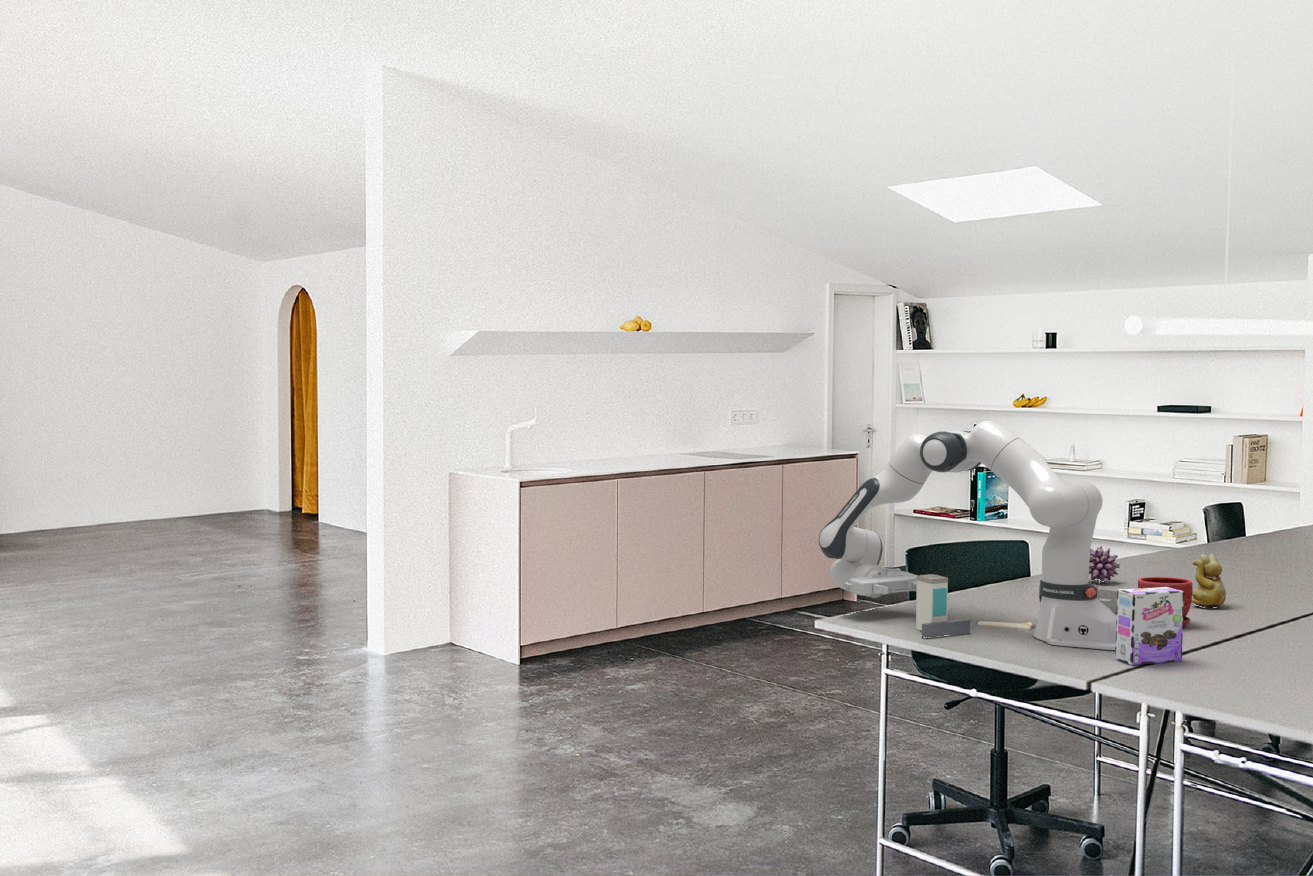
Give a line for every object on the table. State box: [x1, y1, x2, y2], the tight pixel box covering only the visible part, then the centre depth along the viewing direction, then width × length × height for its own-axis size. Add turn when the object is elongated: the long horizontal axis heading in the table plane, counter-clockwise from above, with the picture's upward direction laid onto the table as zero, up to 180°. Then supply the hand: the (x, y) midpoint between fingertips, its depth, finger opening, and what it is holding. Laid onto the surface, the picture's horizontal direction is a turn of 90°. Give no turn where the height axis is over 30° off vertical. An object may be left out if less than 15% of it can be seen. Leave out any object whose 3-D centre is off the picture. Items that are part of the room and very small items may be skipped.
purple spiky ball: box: [1089, 545, 1121, 582], centre depth 359 cm, size 12×12×12 cm
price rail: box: [921, 618, 971, 638], centre depth 285 cm, size 2×14×4 cm, turn 115°
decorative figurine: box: [1191, 553, 1227, 608], centre depth 321 cm, size 10×8×15 cm
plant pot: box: [1137, 576, 1194, 627], centre depth 298 cm, size 13×13×12 cm
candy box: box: [1114, 587, 1184, 666], centre depth 259 cm, size 14×6×16 cm, turn 105°
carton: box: [915, 573, 949, 630], centre depth 289 cm, size 5×6×14 cm
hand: (903, 589), depth 300 cm, fingers open, 8 cm apart
